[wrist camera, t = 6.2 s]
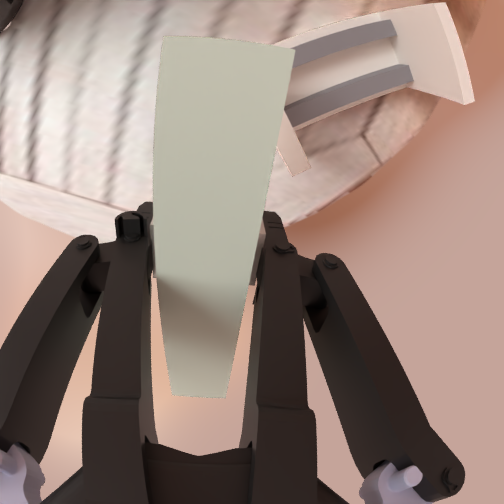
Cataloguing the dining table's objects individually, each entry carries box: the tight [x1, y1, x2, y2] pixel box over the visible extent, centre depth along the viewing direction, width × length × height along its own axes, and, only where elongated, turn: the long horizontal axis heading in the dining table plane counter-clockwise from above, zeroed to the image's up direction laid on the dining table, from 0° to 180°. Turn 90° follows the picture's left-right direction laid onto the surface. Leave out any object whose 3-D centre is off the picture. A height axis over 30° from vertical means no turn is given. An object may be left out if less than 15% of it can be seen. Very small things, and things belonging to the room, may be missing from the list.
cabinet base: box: [273, 2, 475, 177], centre depth 25 cm, size 24×12×14 cm, turn 117°
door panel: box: [153, 36, 295, 398], centre depth 14 cm, size 16×3×12 cm, turn 171°
